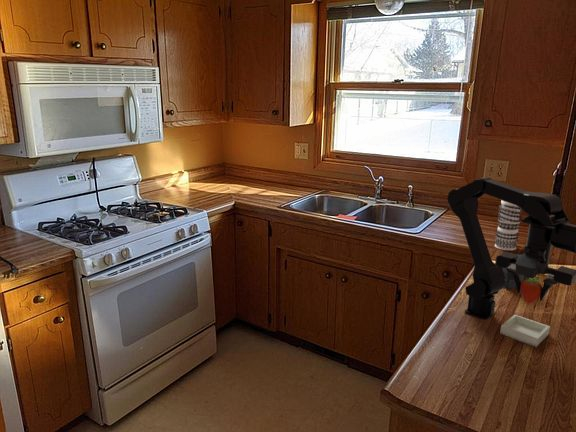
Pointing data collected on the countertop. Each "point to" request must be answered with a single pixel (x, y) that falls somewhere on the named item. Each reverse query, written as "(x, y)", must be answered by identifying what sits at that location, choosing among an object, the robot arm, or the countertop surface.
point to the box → (510, 278)
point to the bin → (525, 330)
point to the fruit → (531, 289)
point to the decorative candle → (507, 226)
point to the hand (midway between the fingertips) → (529, 297)
